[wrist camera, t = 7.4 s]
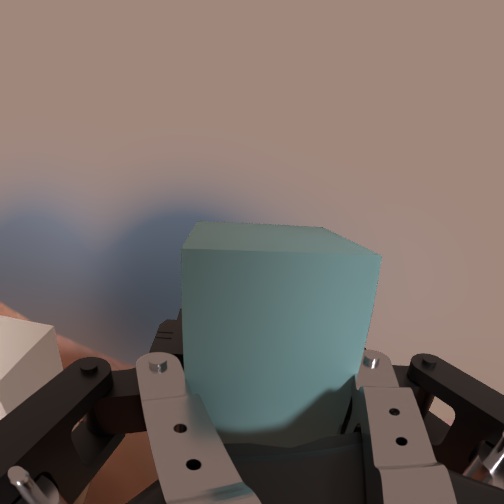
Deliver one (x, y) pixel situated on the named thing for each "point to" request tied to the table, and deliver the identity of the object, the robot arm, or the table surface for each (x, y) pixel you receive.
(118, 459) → the table surface
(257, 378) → the teal post
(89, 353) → the table surface
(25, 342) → the cream cube
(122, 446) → the table surface
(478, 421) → the robot arm
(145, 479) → the table surface
